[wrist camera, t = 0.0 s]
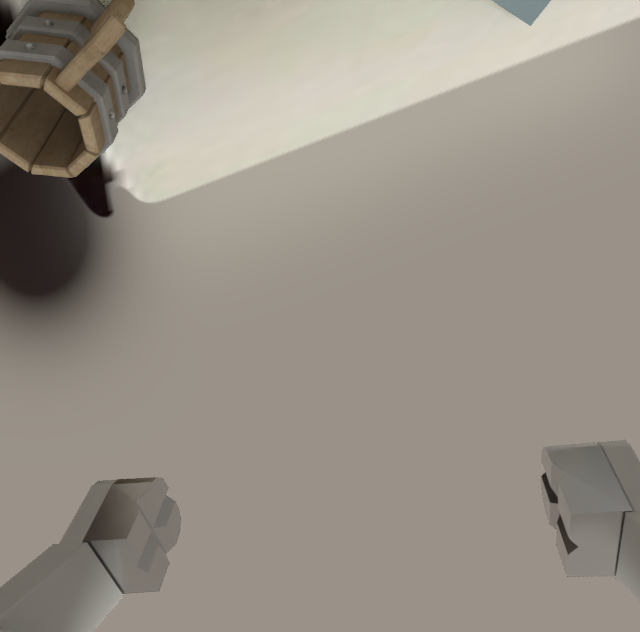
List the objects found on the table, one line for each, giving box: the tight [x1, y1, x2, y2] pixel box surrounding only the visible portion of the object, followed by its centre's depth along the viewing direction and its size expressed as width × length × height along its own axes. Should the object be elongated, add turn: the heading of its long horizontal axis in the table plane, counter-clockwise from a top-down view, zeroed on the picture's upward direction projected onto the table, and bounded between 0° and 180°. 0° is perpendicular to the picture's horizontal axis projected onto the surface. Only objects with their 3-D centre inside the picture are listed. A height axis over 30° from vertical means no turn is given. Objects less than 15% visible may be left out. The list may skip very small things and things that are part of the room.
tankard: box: [0, 0, 146, 178], centre depth 50 cm, size 20×13×15 cm, turn 129°
